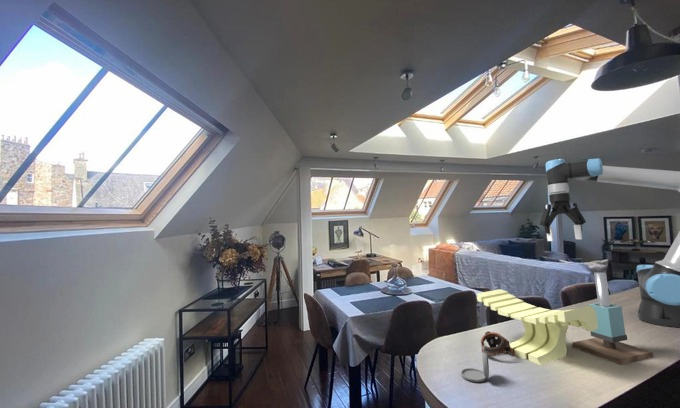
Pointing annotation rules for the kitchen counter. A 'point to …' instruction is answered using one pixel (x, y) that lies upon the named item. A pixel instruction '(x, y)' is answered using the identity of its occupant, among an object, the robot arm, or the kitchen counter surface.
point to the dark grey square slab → (610, 339)
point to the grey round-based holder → (477, 374)
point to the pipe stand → (604, 348)
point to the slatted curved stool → (539, 325)
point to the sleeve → (609, 320)
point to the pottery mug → (500, 342)
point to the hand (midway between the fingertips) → (564, 240)
